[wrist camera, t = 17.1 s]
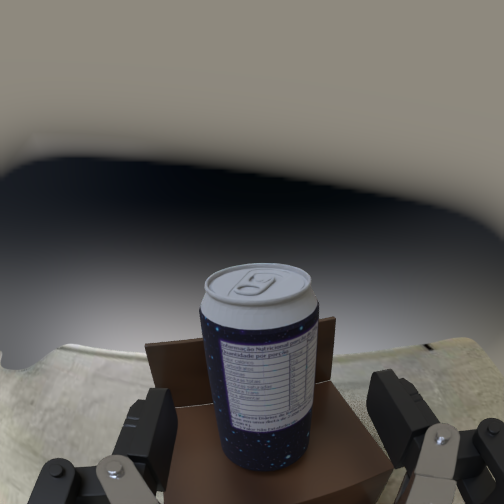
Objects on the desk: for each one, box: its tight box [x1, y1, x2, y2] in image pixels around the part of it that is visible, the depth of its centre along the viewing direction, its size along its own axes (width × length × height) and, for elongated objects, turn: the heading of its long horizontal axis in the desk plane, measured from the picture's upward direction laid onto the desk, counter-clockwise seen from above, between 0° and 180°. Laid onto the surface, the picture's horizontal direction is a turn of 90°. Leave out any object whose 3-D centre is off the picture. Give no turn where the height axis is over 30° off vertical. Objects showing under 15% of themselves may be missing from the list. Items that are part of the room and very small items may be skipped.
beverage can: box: [199, 263, 319, 472], centre depth 16 cm, size 6×6×12 cm
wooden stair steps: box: [145, 317, 394, 504], centre depth 14 cm, size 14×19×16 cm
